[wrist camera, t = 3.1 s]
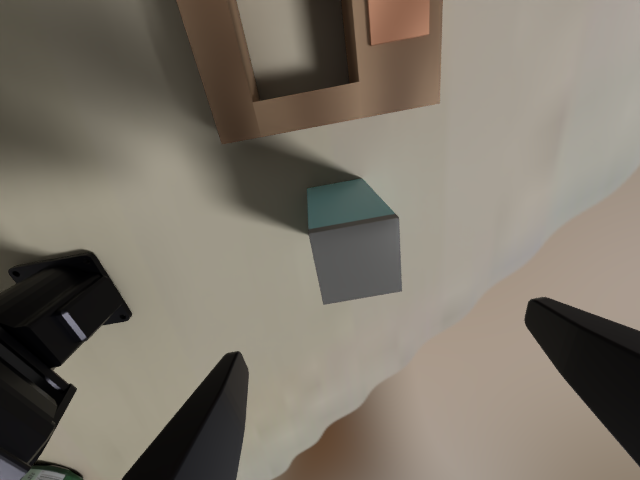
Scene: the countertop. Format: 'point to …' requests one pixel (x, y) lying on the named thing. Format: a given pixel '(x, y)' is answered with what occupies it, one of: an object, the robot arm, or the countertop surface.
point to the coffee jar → (50, 473)
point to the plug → (353, 241)
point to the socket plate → (329, 103)
